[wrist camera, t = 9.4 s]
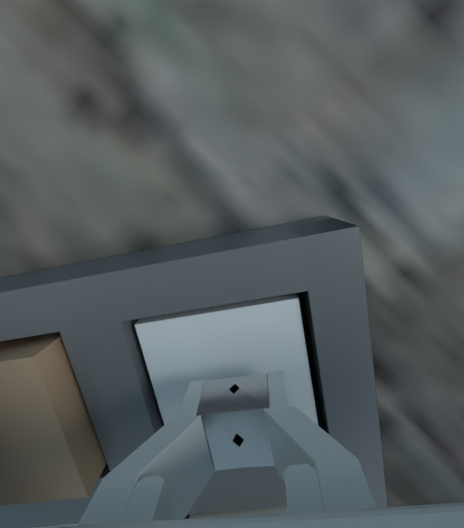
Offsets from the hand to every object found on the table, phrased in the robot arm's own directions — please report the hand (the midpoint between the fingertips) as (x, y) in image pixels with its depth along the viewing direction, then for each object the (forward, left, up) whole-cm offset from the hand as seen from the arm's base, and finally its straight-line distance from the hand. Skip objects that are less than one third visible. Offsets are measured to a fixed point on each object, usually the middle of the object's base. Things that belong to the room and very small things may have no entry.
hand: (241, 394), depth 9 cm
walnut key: (+9, 0, -2) cm, 9 cm away
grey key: (+1, 0, -4) cm, 3 cm away
